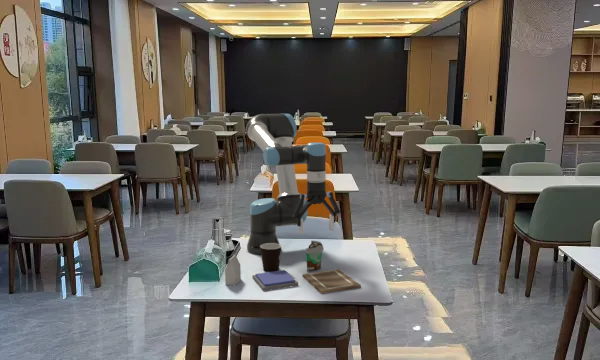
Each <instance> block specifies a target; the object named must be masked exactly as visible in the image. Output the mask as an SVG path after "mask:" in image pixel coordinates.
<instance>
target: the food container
mask: <svg viewBox="0 0 600 360" xmlns="http://www.w3.org/2000/svg"><path fill="white" fill-rule="evenodd" d="M323 251H324V245H323V243H322V242H321V241H317V240H311V242H310V244H309V245H308V247H307V248H305V254H306V258H305V259H306V272H317V271H319V270H320V269H322V267H321V266H322V255H323Z"/></svg>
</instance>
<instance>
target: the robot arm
mask: <svg viewBox="0 0 600 360" xmlns="http://www.w3.org/2000/svg"><path fill="white" fill-rule="evenodd" d="M245 132H246V135H247V137H248V138H249V139H250V140H251V141H252V142H255V143H256V144H257V146H258V147H259V148H260V149H261V151H262V152H263V153H262V155H263V156H262V158H263V162H264V164H265V165H266V166H268V167H269V166H273V167H275V169H276V176H277V183H278V190H279V191H278V192H279V194H278V195H277V197H276V199H275V198H272V197H269V198H268V197H266V198H260V199H256V200H254V201H253V202H252V203H250V205H249V206H250V208H249V215H250V216H249V217H250V218H249V220H250V222H249V223H250V235H249V237H248V241H247V244H246V250H247V252H249V253H251V254H255V255H261V249H260V246H261V245H262V244H266V243H276V244H280V242H279V241H280V240H279V238H278V235H277V227H284V226H297V227H298V233H299V234H300V235H301V236H302V235H304V223H305V221H306V220H307V217H308V209H309V208H310V207H311V206H312V205H317V204H319V205H320V204H323V205H322V206H324V207H325V208H326V209H327V211H328V212H329V213H330V214H329V217H328V219H329V224H328V225H329V227H328V228H329V229H328V230H329V231H330V232H334V231H335V230H334V229H335V227H334V226H335V223H336V217H337V215H338V214H340V213H341V211H340V209H339V206H338V204H337V203H336V200H335V198H334V192H332V191H330V190H328V191H327V192H326V190H327V189H326V185H327V184H326V179H327V178H326V177H327V175H326V174H327V173H326V171H327V170H326V169H327V167H326V161H327V159H326V158H327V155H326V154H327V150H326V144H325V143H324V142H308V143H307V144H301V145H293V146H292V143H293V141H294V138H295V137H296V136H297V124H296V121H295V117H293V115H291V114H290V113H282V112H281V113H260V114H256V115H254V116H252V117H251V118H250V119H249V120H248V122H247V123H246V126H245ZM295 165H306V180H307V182H306V193H305V194H304V193H300V192H299V190H298V185H297V184H298V183H297V177H296V171H295ZM306 198H307V200H306ZM326 198H328V199H329V202H330V204H329V203H328V202H327V200H326ZM331 206H332V207H331Z"/></svg>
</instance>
